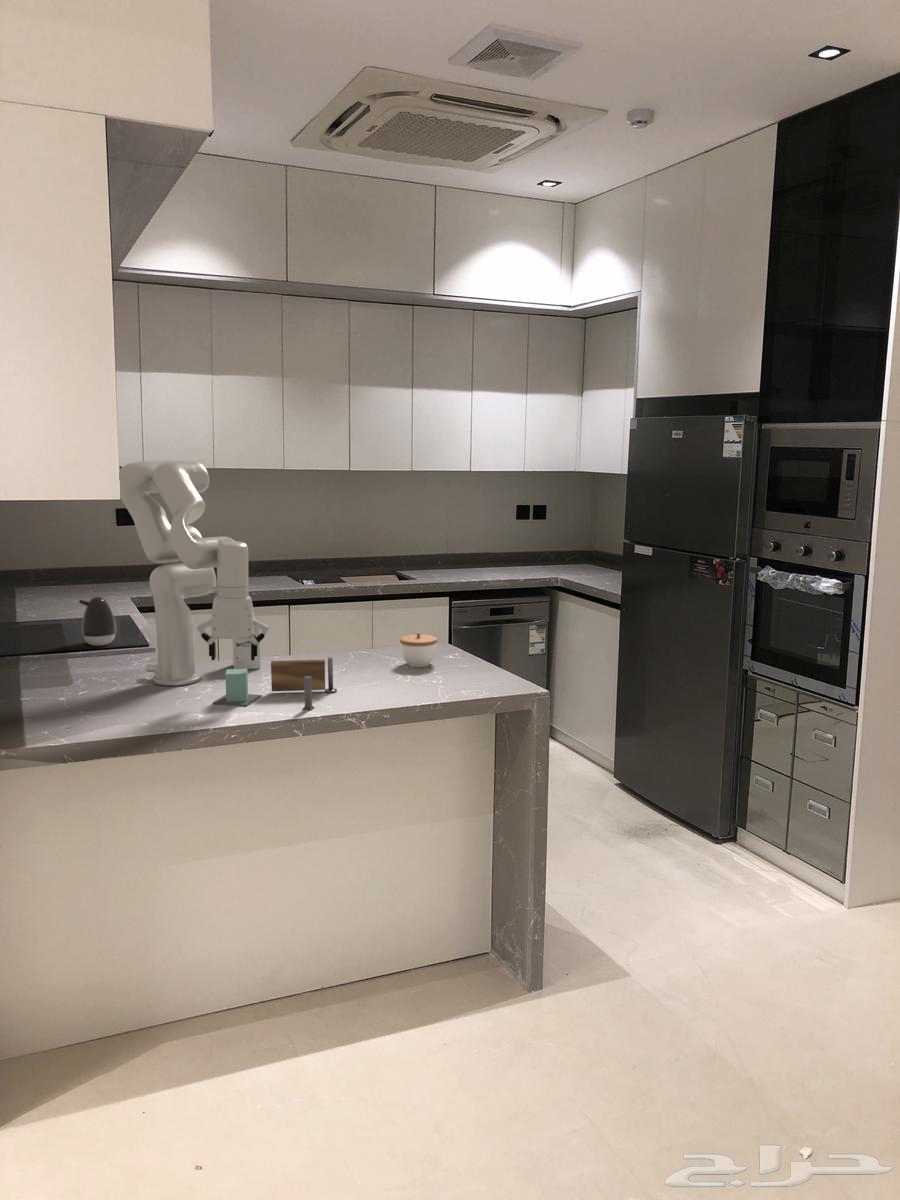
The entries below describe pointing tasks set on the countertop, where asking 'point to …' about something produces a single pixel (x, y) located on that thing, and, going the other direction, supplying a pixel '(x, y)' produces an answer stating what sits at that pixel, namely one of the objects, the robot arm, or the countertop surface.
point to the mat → (238, 703)
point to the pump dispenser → (98, 622)
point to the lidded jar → (418, 649)
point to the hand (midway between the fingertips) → (233, 659)
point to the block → (236, 685)
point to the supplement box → (245, 653)
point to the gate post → (330, 677)
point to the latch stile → (308, 693)
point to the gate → (297, 674)
